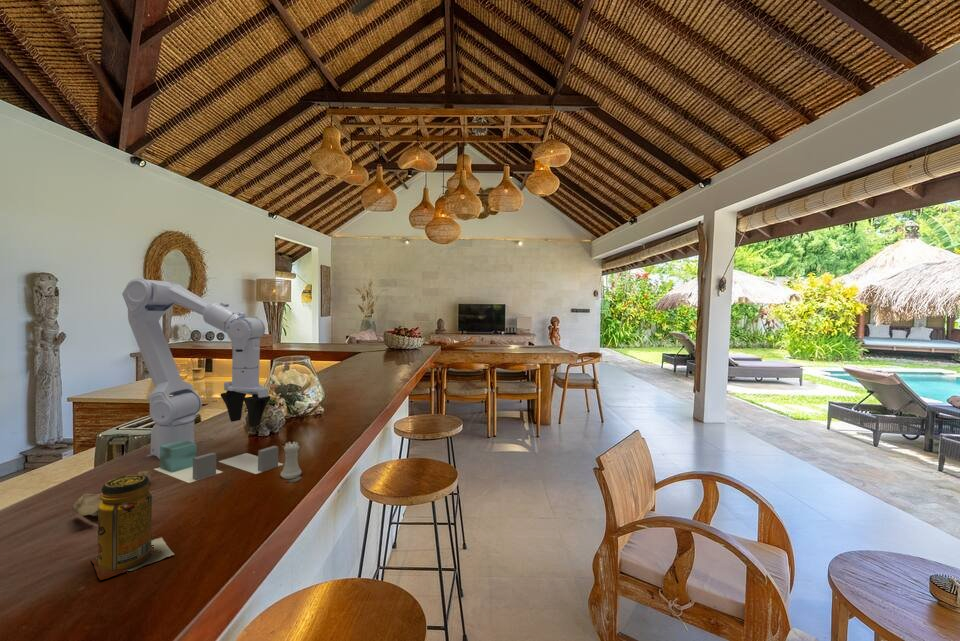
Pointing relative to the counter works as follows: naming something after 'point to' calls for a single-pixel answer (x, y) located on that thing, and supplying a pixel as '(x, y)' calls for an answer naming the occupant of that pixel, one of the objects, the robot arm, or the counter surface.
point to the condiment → (127, 525)
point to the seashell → (95, 500)
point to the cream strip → (196, 469)
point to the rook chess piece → (291, 463)
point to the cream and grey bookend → (255, 460)
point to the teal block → (177, 455)
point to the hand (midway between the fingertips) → (244, 423)
